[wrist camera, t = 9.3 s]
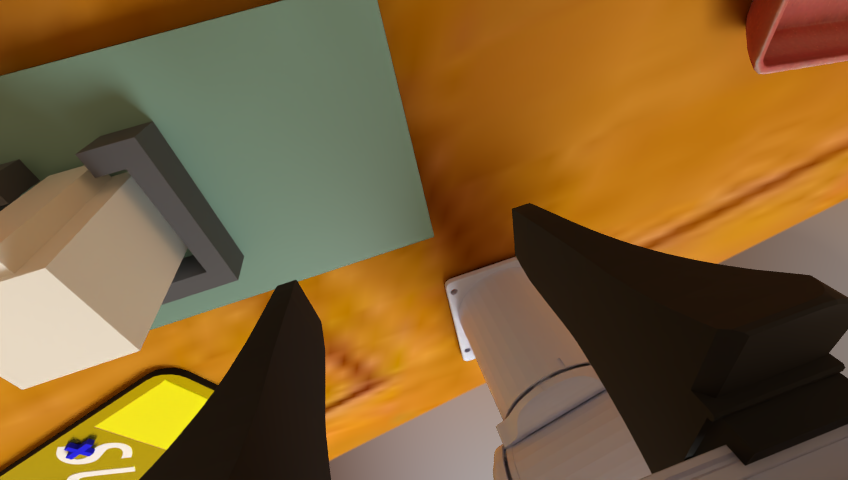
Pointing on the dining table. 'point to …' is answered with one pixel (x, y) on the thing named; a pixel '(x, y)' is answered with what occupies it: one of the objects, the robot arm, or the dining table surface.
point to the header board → (235, 142)
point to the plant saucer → (796, 34)
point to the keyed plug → (80, 274)
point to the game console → (120, 432)
